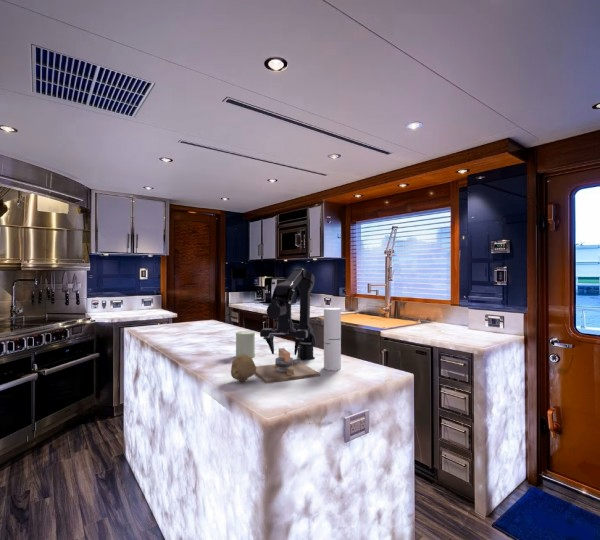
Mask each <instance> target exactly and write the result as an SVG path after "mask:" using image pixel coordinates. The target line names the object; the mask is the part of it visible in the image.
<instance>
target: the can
mask: <svg viewBox="0 0 600 540" xmlns="http://www.w3.org/2000/svg"><path fill="white" fill-rule="evenodd" d="M255 340H256V332H255V331H252V330H241V331H236V332H235V357H236V356H238V355H242V354H246V355H248V356H250V357H251V358H252V359H253V358H255V357H256V347H255V344H256V341H255Z"/></svg>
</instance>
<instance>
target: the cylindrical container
mask: <svg viewBox="0 0 600 540" xmlns="http://www.w3.org/2000/svg"><path fill="white" fill-rule="evenodd" d="M341 340H342V308H339V307H324V308H323V369H325V370H326V371H340V370H341V369H342V347H341V346H342V345H341V344H342V341H341Z"/></svg>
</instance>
